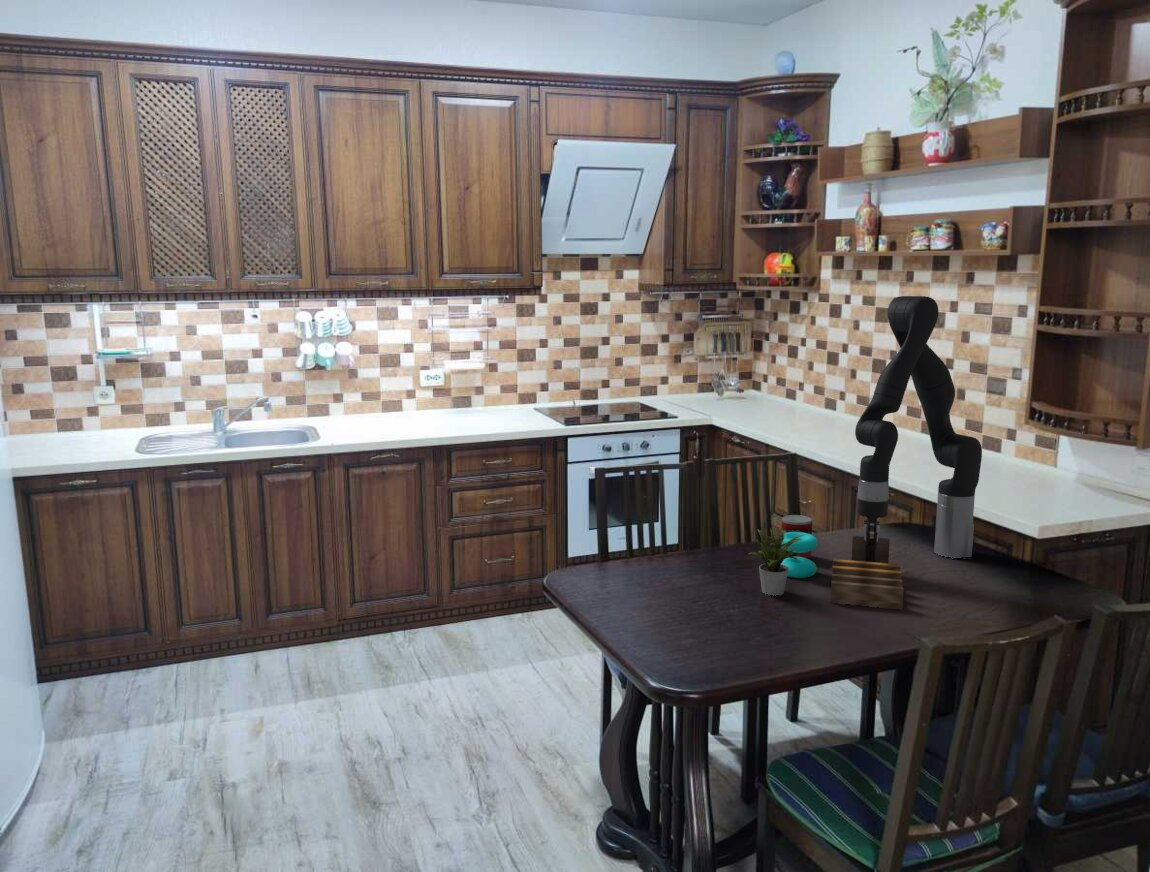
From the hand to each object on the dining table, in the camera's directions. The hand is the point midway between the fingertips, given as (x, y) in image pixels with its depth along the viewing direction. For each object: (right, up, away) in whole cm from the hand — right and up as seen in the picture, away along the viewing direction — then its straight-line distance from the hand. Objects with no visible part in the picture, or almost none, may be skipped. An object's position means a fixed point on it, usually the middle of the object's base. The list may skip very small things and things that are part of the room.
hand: (869, 561), depth 235 cm
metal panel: (0, -3, +1) cm, 3 cm away
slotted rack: (-6, -6, -14) cm, 16 cm away
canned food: (-16, -1, +14) cm, 21 cm away
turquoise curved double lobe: (-19, -3, +1) cm, 19 cm away
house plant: (-27, -6, -14) cm, 31 cm away
